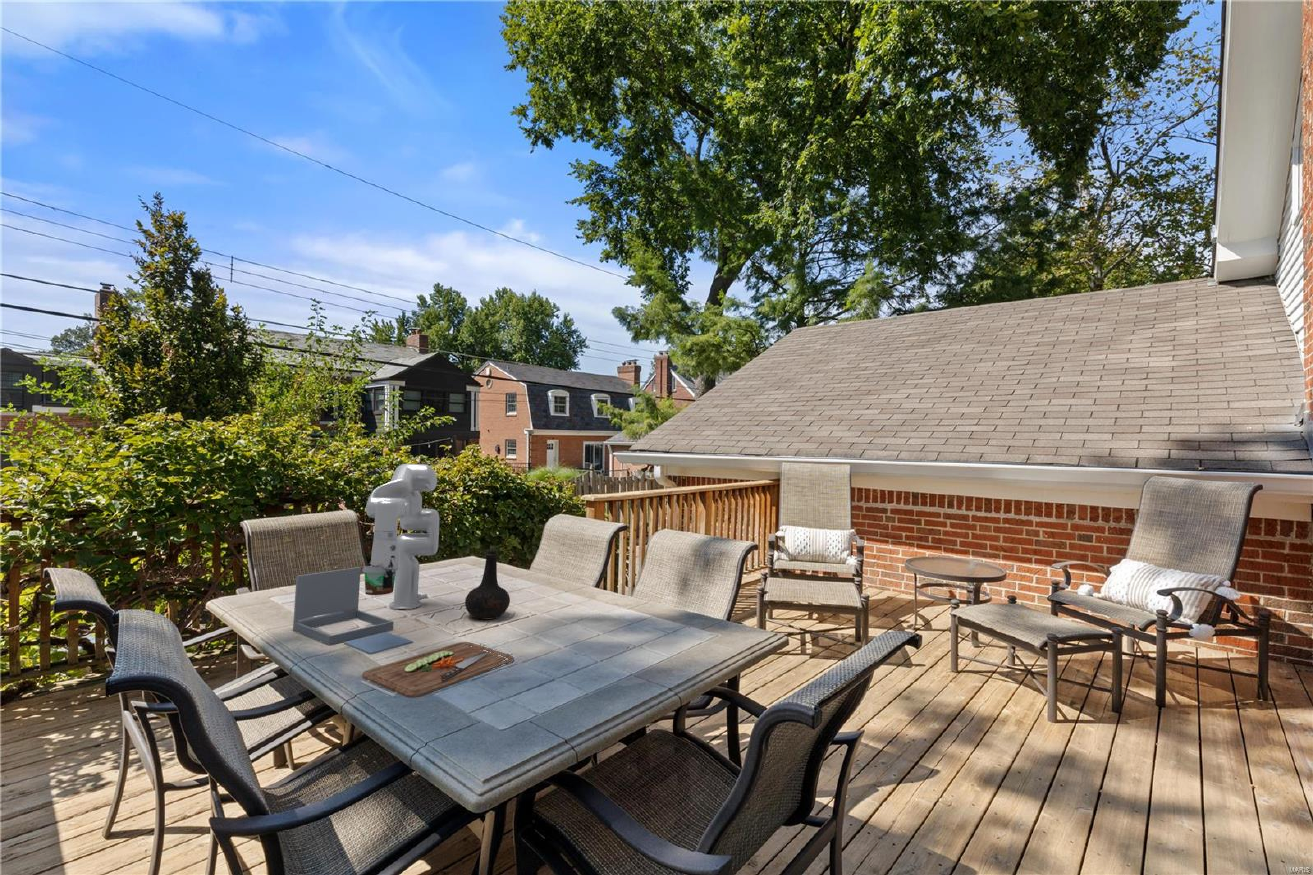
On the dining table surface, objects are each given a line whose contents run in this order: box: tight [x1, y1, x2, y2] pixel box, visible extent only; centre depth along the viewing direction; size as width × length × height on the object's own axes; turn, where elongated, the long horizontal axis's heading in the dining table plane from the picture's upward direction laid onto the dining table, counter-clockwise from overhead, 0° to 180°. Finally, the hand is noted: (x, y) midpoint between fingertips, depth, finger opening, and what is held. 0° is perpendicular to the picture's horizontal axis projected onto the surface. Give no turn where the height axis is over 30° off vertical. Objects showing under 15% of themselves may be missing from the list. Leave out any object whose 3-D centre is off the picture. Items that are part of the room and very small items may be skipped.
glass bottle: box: [464, 548, 511, 619], centre depth 245 cm, size 18×18×28 cm
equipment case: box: [292, 566, 395, 646], centre depth 218 cm, size 24×25×20 cm
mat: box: [343, 631, 414, 655], centre depth 206 cm, size 16×16×1 cm
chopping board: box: [360, 641, 515, 698], centre depth 187 cm, size 45×27×3 cm, turn 148°
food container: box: [362, 565, 398, 596], centre depth 206 cm, size 12×6×10 cm, turn 145°
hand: (382, 586), depth 207 cm, fingers closed on food container, 5 cm apart
